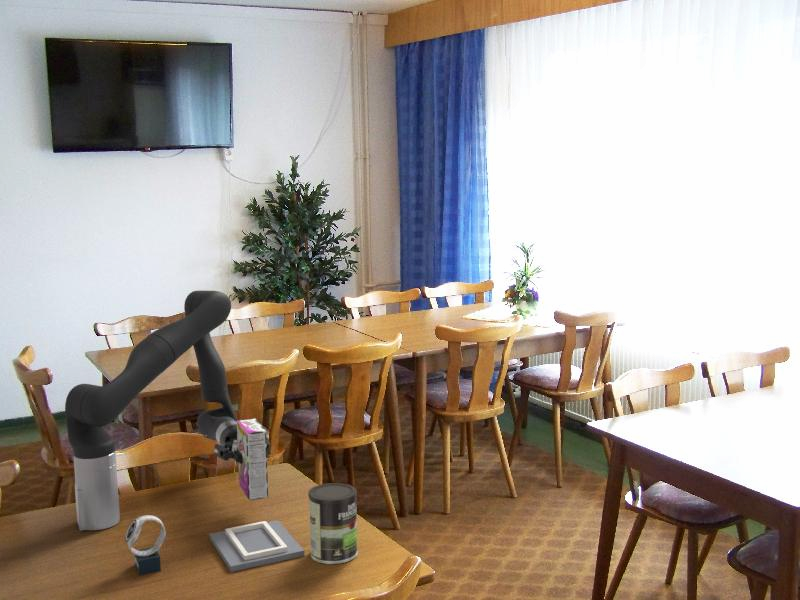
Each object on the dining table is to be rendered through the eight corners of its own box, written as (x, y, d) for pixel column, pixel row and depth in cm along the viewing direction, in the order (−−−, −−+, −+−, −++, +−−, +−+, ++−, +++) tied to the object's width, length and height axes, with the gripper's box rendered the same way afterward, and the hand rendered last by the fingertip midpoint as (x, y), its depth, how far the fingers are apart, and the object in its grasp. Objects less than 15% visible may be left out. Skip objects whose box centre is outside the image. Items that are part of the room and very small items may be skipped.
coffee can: (367, 550, 182) (366, 487, 180) (339, 569, 174) (337, 503, 172) (329, 539, 188) (327, 479, 186) (300, 557, 179) (298, 494, 177)
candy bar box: (237, 485, 204) (235, 420, 202) (257, 482, 206) (256, 417, 204) (247, 501, 194) (246, 432, 192) (269, 498, 196) (267, 430, 194)
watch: (125, 566, 176) (122, 516, 174) (164, 558, 179) (161, 509, 178) (129, 577, 171) (126, 526, 169) (169, 569, 174) (166, 518, 173)
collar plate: (231, 571, 173) (230, 561, 172) (209, 538, 189) (209, 529, 188) (304, 555, 180) (304, 545, 179) (277, 525, 196) (277, 516, 195)
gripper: (205, 427, 210) (222, 446, 195) (260, 420, 216) (282, 438, 201) (206, 456, 211) (223, 477, 196) (261, 448, 217) (282, 468, 202)
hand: (253, 457), depth 199 cm, fingers closed on candy bar box, 5 cm apart
